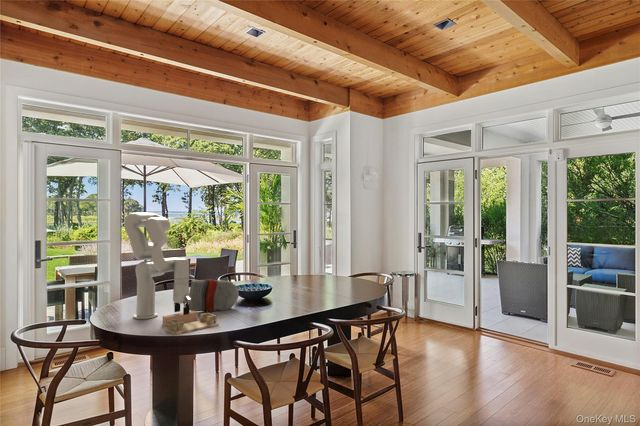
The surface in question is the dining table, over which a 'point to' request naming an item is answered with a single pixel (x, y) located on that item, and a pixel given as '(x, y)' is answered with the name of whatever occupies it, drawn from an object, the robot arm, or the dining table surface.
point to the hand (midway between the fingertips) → (181, 313)
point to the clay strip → (180, 317)
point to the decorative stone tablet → (212, 295)
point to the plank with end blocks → (191, 324)
